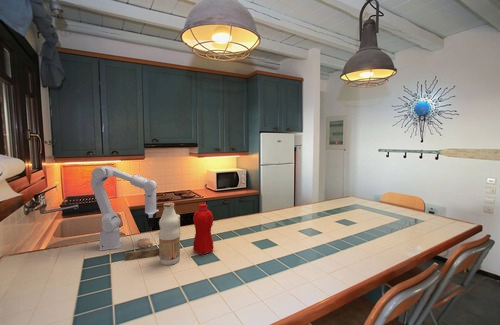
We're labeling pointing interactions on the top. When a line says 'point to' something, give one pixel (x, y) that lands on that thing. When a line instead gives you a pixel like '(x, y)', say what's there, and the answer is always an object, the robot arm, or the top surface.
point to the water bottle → (203, 230)
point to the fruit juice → (169, 236)
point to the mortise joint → (142, 253)
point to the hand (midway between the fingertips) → (151, 227)
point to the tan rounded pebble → (143, 242)
